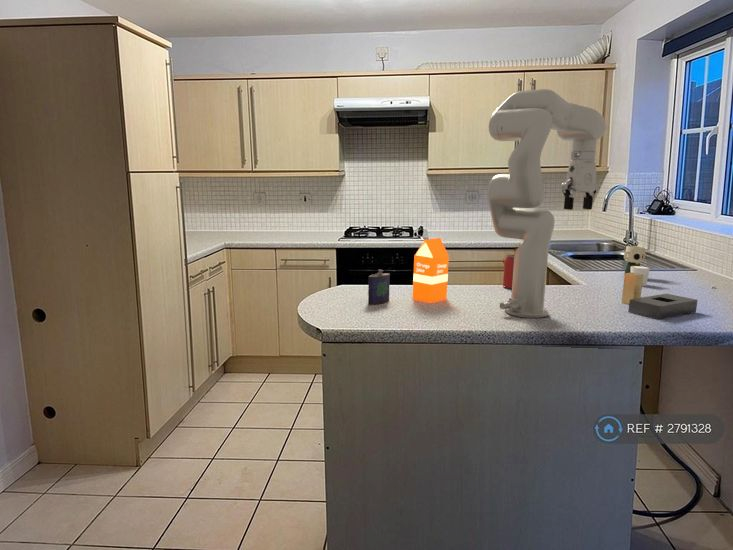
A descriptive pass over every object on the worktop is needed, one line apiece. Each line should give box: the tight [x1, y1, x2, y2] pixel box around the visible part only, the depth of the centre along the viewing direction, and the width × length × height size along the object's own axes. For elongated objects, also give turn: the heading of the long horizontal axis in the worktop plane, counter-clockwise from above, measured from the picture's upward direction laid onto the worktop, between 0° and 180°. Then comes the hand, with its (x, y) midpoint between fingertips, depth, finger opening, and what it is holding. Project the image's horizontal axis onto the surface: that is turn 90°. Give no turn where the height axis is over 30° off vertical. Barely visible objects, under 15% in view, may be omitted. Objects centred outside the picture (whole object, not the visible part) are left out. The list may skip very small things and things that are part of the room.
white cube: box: [630, 265, 651, 287], centre depth 216 cm, size 7×7×7 cm
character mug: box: [623, 245, 647, 276], centre depth 231 cm, size 11×7×13 cm, turn 108°
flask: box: [367, 269, 391, 306], centre depth 173 cm, size 9×3×11 cm, turn 138°
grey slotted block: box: [627, 293, 698, 320], centre depth 171 cm, size 20×10×4 cm, turn 121°
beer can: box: [502, 254, 515, 290], centre depth 203 cm, size 7×7×12 cm
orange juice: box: [412, 237, 450, 304], centre depth 179 cm, size 8×9×20 cm
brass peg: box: [621, 272, 643, 305], centre depth 182 cm, size 4×4×10 cm
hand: (577, 209), depth 185 cm, fingers open, 9 cm apart
